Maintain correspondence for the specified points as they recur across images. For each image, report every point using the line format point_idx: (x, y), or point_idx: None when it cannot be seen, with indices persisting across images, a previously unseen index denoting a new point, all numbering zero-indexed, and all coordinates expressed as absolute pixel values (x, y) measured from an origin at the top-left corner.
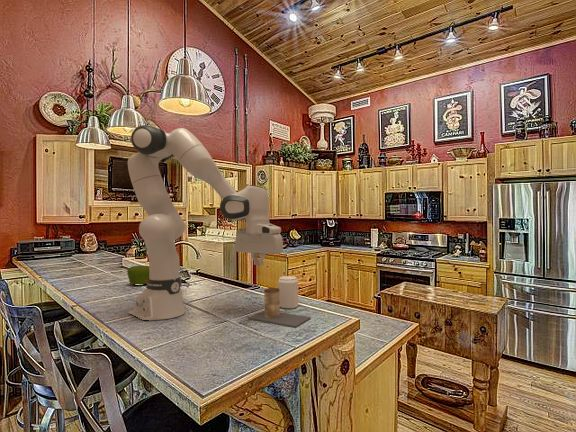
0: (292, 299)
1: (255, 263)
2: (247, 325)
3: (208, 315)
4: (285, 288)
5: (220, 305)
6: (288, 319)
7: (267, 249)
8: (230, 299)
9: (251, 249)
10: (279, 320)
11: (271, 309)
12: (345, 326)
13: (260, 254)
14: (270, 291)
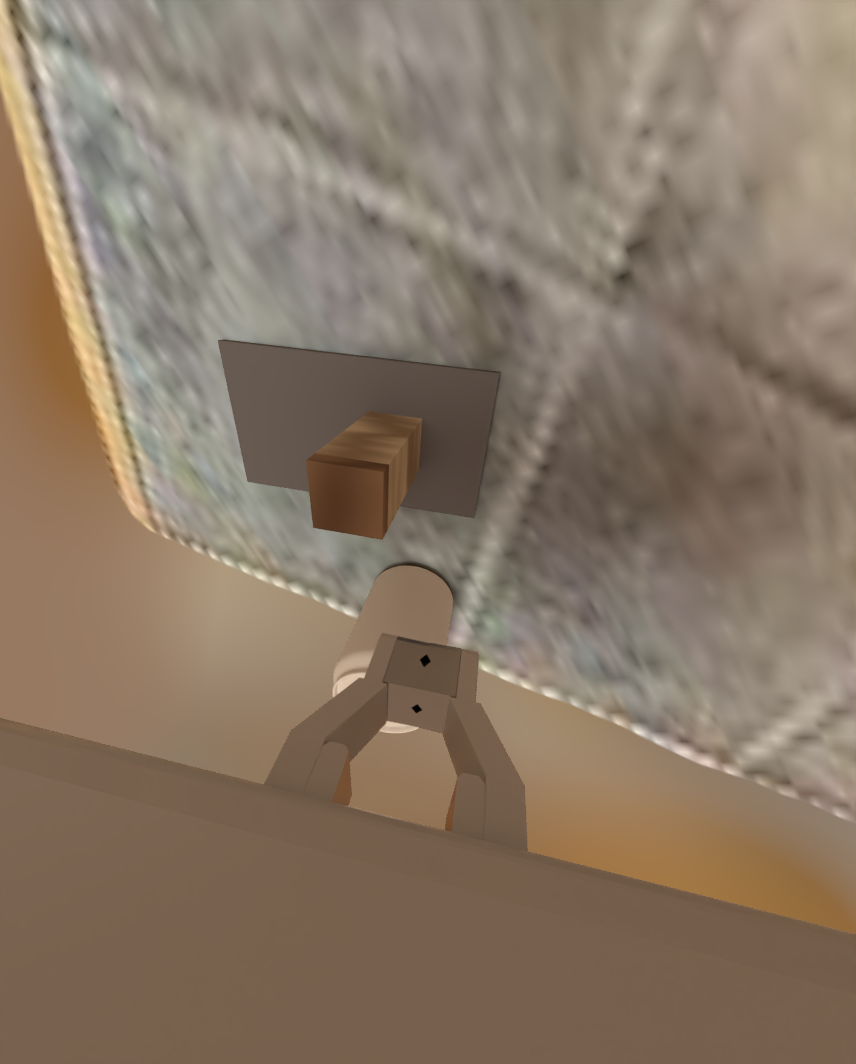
0: (369, 597)
1: (450, 658)
2: (449, 263)
3: (798, 340)
4: (379, 627)
5: (769, 542)
6: (303, 422)
7: (2, 844)
8: (738, 637)
9: (487, 952)
10: (328, 392)
11: (367, 424)
12: (106, 440)
13: (307, 774)
14: (332, 460)
